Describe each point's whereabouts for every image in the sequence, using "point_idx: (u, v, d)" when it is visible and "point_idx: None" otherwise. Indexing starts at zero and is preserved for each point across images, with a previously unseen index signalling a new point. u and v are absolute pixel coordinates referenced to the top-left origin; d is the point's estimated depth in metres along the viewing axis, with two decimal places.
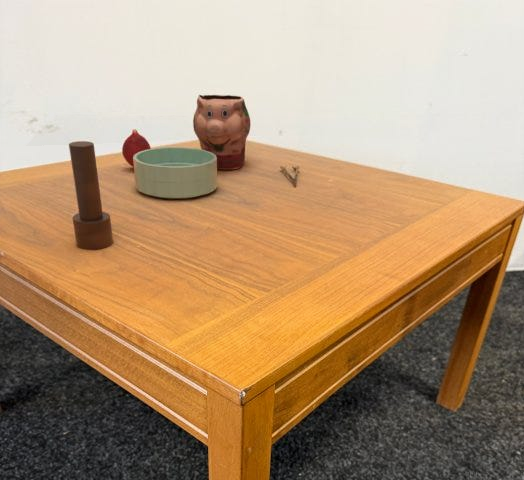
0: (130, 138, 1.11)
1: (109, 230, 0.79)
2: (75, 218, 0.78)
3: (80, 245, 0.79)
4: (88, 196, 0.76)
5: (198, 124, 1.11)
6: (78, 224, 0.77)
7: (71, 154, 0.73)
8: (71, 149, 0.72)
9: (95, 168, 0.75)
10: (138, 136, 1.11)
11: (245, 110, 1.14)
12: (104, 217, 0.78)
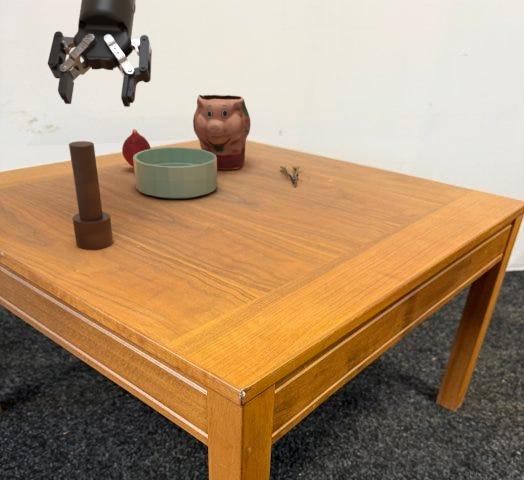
0: (130, 138, 1.11)
1: (109, 230, 0.79)
2: (75, 218, 0.78)
3: (80, 245, 0.79)
4: (88, 196, 0.76)
5: (198, 124, 1.11)
6: (78, 224, 0.77)
7: (71, 154, 0.73)
8: (71, 149, 0.72)
9: (95, 168, 0.75)
10: (138, 136, 1.11)
11: (245, 110, 1.14)
12: (104, 217, 0.78)
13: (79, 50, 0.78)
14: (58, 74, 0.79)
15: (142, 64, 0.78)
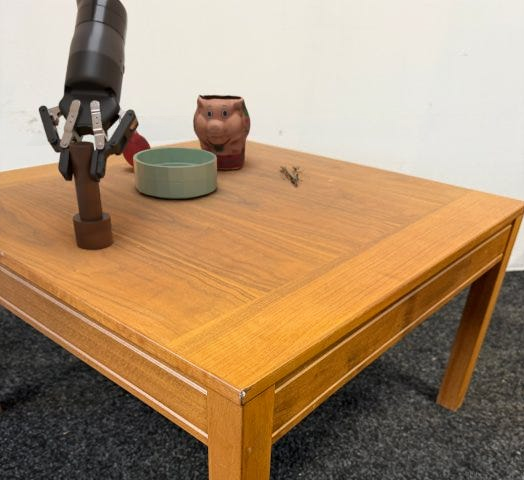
0: None
1: (109, 230, 0.79)
2: (75, 218, 0.78)
3: (80, 245, 0.79)
4: (88, 196, 0.76)
5: (198, 124, 1.11)
6: (78, 224, 0.77)
7: (71, 154, 0.73)
8: (71, 149, 0.72)
9: None
10: (138, 136, 1.11)
11: (245, 110, 1.14)
12: (104, 217, 0.78)
13: (72, 120, 0.74)
14: (58, 149, 0.75)
15: (114, 138, 0.74)
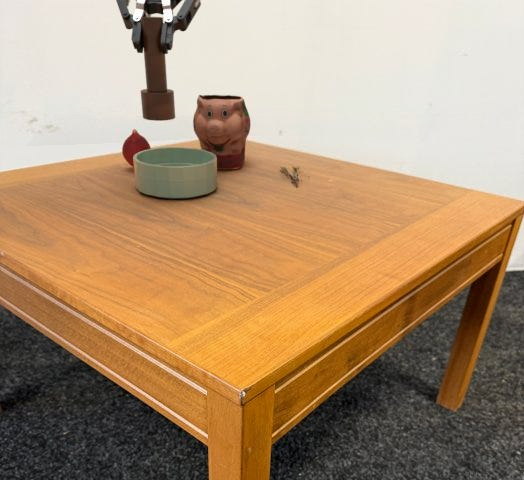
0: (130, 138, 1.11)
1: (173, 103, 0.88)
2: (143, 91, 0.86)
3: (147, 117, 0.87)
4: (157, 68, 0.84)
5: (198, 124, 1.11)
6: (146, 95, 0.85)
7: (143, 26, 0.81)
8: (143, 21, 0.81)
9: None
10: (138, 136, 1.11)
11: (245, 110, 1.14)
12: (169, 91, 0.87)
13: None
14: (130, 24, 0.83)
15: (181, 13, 0.82)
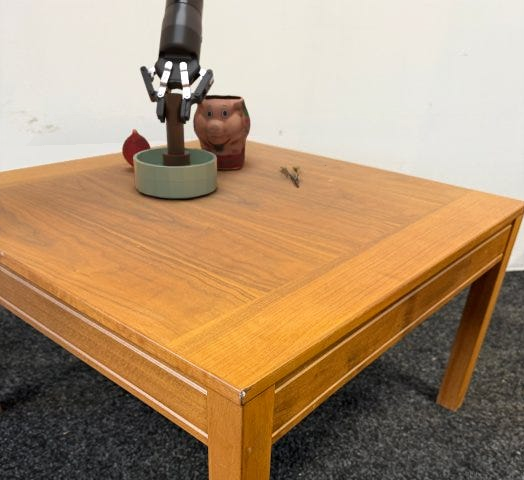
0: (130, 138, 1.11)
1: (189, 163, 1.03)
2: (164, 153, 1.02)
3: None
4: (176, 135, 1.00)
5: (198, 124, 1.11)
6: (167, 157, 1.01)
7: (166, 102, 0.97)
8: (166, 98, 0.97)
9: None
10: (138, 136, 1.11)
11: (245, 110, 1.14)
12: (186, 153, 1.03)
13: (166, 77, 0.98)
14: (155, 99, 0.99)
15: (198, 90, 0.98)
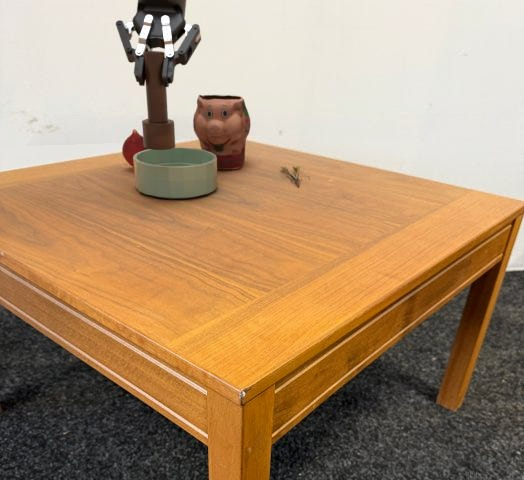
0: (130, 138, 1.11)
1: (173, 133, 0.90)
2: (145, 121, 0.89)
3: (148, 146, 0.90)
4: (158, 100, 0.87)
5: (198, 124, 1.11)
6: (147, 126, 0.88)
7: (145, 60, 0.84)
8: (146, 55, 0.84)
9: None
10: (138, 136, 1.11)
11: (245, 110, 1.14)
12: (169, 121, 0.90)
13: (145, 32, 0.85)
14: (133, 58, 0.86)
15: (182, 48, 0.85)
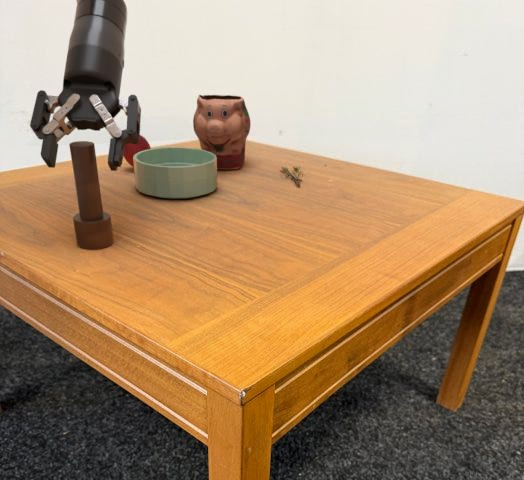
0: None
1: (109, 230, 0.79)
2: (76, 218, 0.78)
3: (80, 245, 0.79)
4: (89, 196, 0.76)
5: (198, 124, 1.11)
6: (78, 224, 0.77)
7: (72, 154, 0.73)
8: (72, 149, 0.72)
9: (95, 168, 0.75)
10: None
11: (245, 110, 1.14)
12: (104, 217, 0.78)
13: (63, 111, 0.73)
14: (41, 136, 0.75)
15: (130, 126, 0.73)
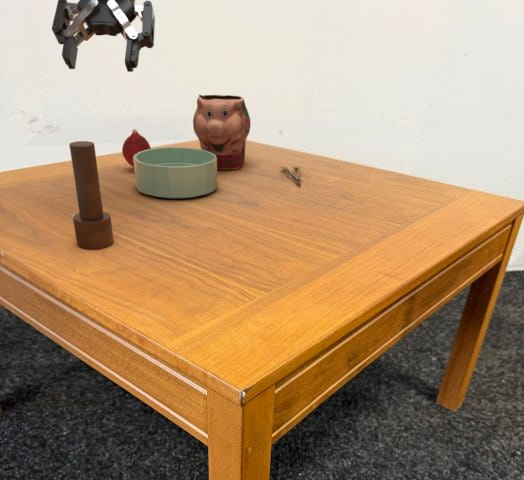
0: (130, 138, 1.11)
1: (109, 230, 0.79)
2: (76, 218, 0.78)
3: (80, 245, 0.79)
4: (89, 196, 0.76)
5: (198, 124, 1.11)
6: (78, 224, 0.77)
7: (72, 154, 0.73)
8: (72, 149, 0.72)
9: (95, 168, 0.75)
10: (138, 136, 1.11)
11: (245, 110, 1.14)
12: (104, 217, 0.78)
13: (83, 15, 0.79)
14: (62, 39, 0.80)
15: (145, 29, 0.79)
